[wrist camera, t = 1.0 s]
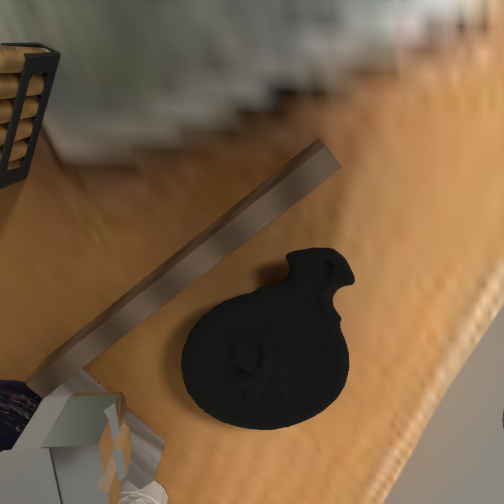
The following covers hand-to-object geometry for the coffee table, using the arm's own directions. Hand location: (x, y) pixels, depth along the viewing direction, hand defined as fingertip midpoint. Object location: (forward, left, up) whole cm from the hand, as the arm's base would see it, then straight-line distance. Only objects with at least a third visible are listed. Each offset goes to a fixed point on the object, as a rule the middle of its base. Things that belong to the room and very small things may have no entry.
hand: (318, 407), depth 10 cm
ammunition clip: (+13, -15, -30) cm, 36 cm away
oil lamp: (+10, +12, -30) cm, 34 cm away
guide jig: (+13, +8, -30) cm, 34 cm away
